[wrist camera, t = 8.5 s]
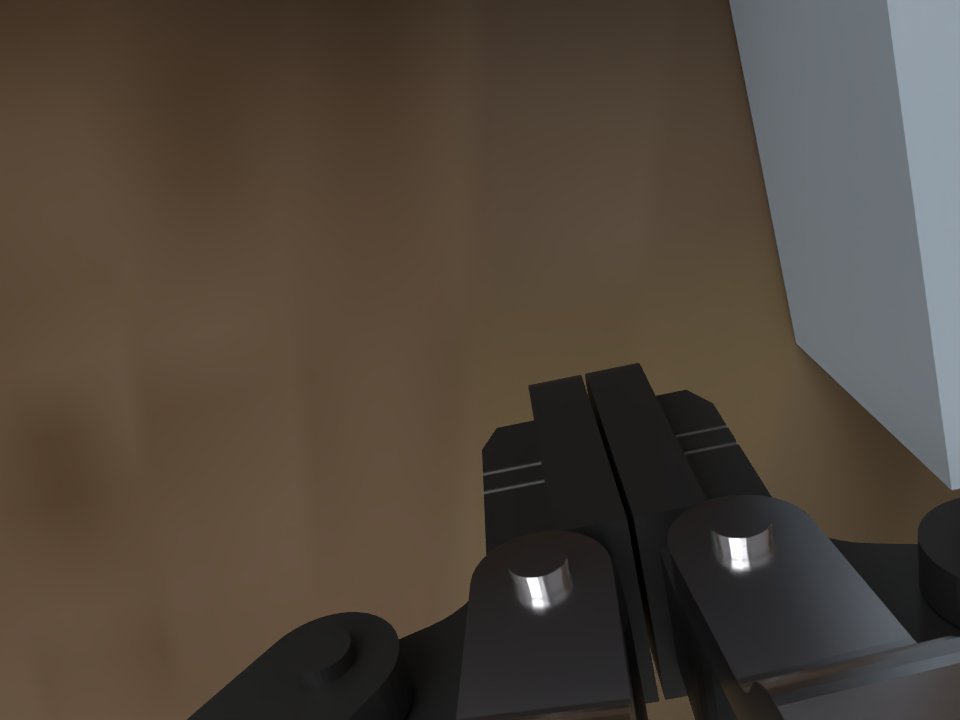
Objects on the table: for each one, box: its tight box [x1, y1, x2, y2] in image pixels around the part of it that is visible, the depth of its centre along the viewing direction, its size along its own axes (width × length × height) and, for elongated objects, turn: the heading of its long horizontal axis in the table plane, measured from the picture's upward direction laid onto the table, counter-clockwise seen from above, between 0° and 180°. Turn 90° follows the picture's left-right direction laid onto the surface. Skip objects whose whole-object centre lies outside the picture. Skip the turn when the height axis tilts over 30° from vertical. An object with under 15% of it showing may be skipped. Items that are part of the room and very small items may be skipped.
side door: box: [729, 0, 960, 490], centre depth 15 cm, size 14×2×7 cm, turn 18°
